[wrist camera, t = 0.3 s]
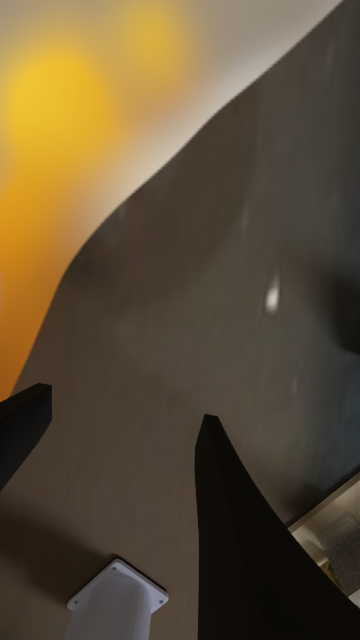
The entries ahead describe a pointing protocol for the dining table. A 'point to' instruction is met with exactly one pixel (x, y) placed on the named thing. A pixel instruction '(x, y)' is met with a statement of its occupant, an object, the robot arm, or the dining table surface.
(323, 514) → the board
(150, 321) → the dining table surface
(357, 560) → the grey rectangular block
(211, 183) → the dining table surface
